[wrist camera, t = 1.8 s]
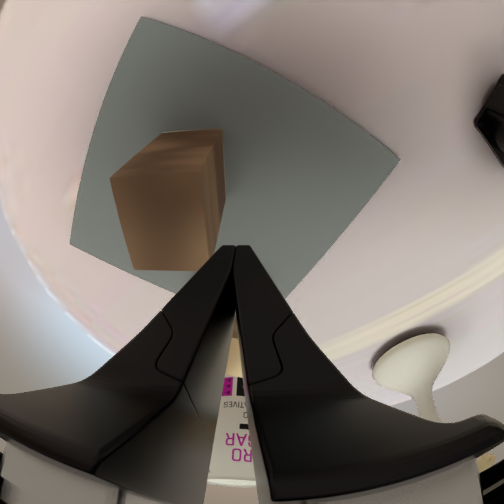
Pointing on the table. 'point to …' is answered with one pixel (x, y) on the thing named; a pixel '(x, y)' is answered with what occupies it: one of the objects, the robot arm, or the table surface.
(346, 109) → the table surface
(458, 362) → the table surface
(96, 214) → the slate mat
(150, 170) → the walnut block
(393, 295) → the table surface
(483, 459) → the flower in vase
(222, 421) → the supplement can
